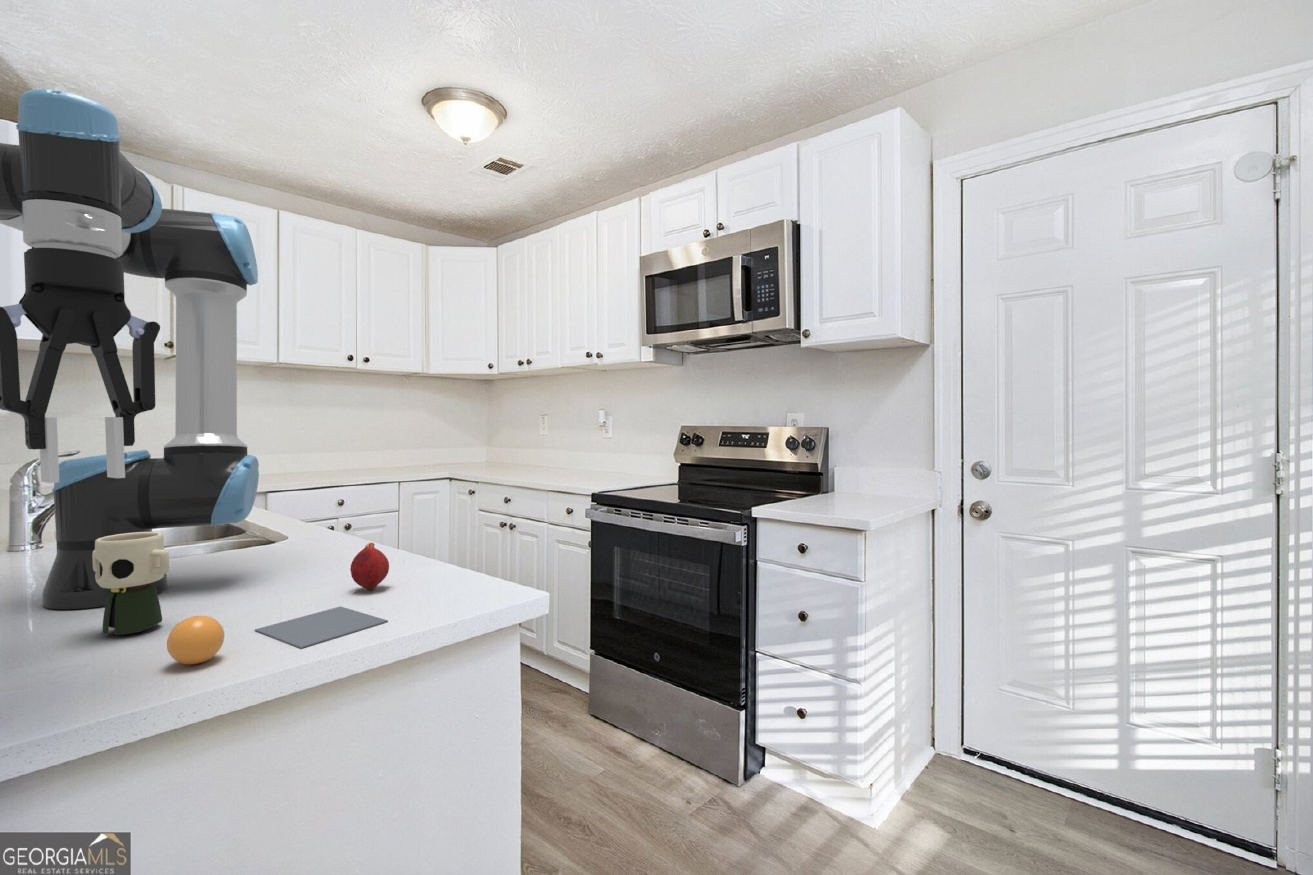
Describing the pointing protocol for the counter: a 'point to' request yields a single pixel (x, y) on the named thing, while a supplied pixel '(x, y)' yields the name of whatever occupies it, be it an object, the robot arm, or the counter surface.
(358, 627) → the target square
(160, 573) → the character mug
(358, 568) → the onion
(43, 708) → the counter surface
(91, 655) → the counter surface
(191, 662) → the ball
